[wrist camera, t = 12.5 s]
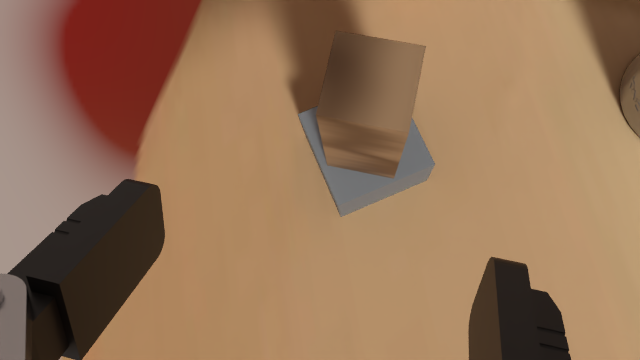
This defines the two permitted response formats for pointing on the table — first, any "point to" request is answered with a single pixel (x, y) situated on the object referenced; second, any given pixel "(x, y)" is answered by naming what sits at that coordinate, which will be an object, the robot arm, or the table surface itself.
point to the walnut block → (368, 102)
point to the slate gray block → (366, 188)
